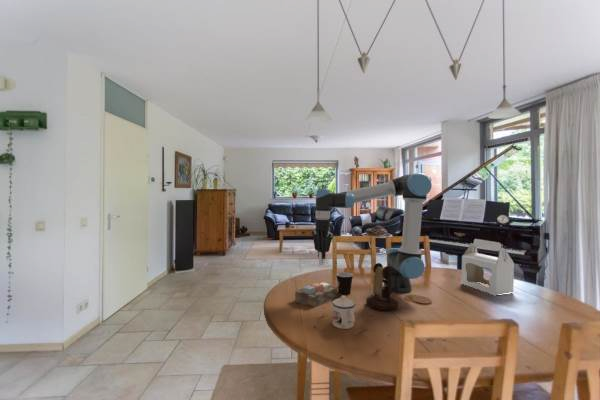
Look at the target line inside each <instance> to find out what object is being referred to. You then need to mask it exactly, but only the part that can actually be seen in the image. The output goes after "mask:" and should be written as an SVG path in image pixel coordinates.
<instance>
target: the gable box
mask: <svg viewBox="0 0 600 400" xmlns="http://www.w3.org/2000/svg"><path fill="white" fill-rule="evenodd" d="M503 246H504V244H502V243H501V242H499V241H493V240H492V241H491V240H486V239H480V238H474V240H473V243H472V242H470V244H469V246H468V248H467V249H466V250H465V251H464V252H463V254H462V255H461V285H462V284H464V285H463V286H465V285H467V286H466V287H468V286H470V287H473V288H476V289H479V290H482V291H485V292H488V293H492V294H494V295H498V294H503V293H509V292H513V293H514V281H515V278H514V275H515V262H514V261H513V259H512V257H511V256H510V254H509V253H508V251H507V249H505V248H503ZM478 248H482V249H488V250H493V251H497V252H498V256H493V255H487V254H485V253H479V252H478ZM485 268H486V269H489V270H490V271H491V275H490V276H489V280H488V279H485V277H484V275H485V271H484V269H485ZM477 282H481V283H484V284H488V285H489V287H485V286H483V285H481V284H480V283H477ZM470 287H469V288H470ZM473 288H472V289H473ZM476 289H475V290H476ZM479 290H478V291H479ZM482 291H481V292H482ZM485 292H484V293H485ZM488 293H487V294H488Z"/></svg>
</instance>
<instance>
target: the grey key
mask: <svg viewBox="0 0 600 400" xmlns="http://www.w3.org/2000/svg"><path fill="white" fill-rule="evenodd" d="M302 289H303V293H306V294H309V295H310V294H313V293H315V287H313V286H311V284H310V285H305V286H303V287H302Z"/></svg>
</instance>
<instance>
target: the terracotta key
mask: <svg viewBox="0 0 600 400" xmlns="http://www.w3.org/2000/svg"><path fill="white" fill-rule="evenodd" d="M319 283H320V282H315V283H311V284H310V286H313V287H315V291H317V292H318V291H321V290H323V284H319Z"/></svg>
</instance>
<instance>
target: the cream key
mask: <svg viewBox="0 0 600 400" xmlns="http://www.w3.org/2000/svg"><path fill="white" fill-rule="evenodd" d="M319 283H320V284H323V289H326V288H329V287H330V286H331V284H330V283H327V282H319Z"/></svg>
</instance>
